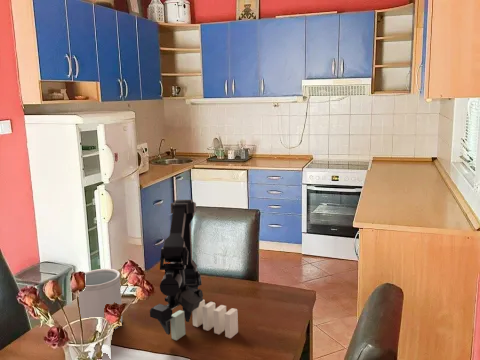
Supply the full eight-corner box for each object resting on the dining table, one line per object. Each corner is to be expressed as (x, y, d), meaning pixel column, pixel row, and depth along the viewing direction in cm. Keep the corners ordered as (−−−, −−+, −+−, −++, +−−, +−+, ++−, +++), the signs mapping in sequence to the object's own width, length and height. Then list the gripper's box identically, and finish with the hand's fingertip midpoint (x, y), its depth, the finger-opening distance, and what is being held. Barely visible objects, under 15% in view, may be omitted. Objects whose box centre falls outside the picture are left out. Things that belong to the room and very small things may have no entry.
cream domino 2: (203, 329, 145) (202, 306, 144) (211, 323, 149) (210, 301, 147) (208, 330, 144) (207, 308, 142) (216, 325, 147) (215, 302, 146)
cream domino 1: (192, 325, 147) (191, 303, 146) (201, 320, 151) (200, 298, 150) (197, 327, 146) (196, 304, 145) (205, 321, 150) (204, 299, 148)
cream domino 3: (214, 332, 142) (213, 310, 141) (222, 326, 146) (221, 304, 145) (219, 334, 141) (218, 311, 140) (226, 328, 145) (226, 306, 144)
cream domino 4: (225, 336, 140) (224, 313, 139) (233, 330, 144) (232, 307, 142) (230, 338, 139) (229, 315, 137) (238, 332, 142) (237, 309, 141)
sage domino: (171, 338, 140) (170, 315, 138) (180, 332, 143) (179, 309, 142) (176, 340, 138) (175, 317, 137) (185, 334, 142) (184, 311, 141)
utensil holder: (70, 326, 149) (65, 278, 146) (107, 310, 160) (104, 264, 157) (94, 341, 139) (89, 289, 136) (132, 322, 151) (129, 274, 147)
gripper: (174, 299, 125) (177, 349, 128) (213, 277, 141) (215, 321, 143) (147, 290, 132) (150, 338, 134) (187, 270, 147) (189, 313, 150)
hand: (178, 327), depth 140 cm, fingers open, 9 cm apart
